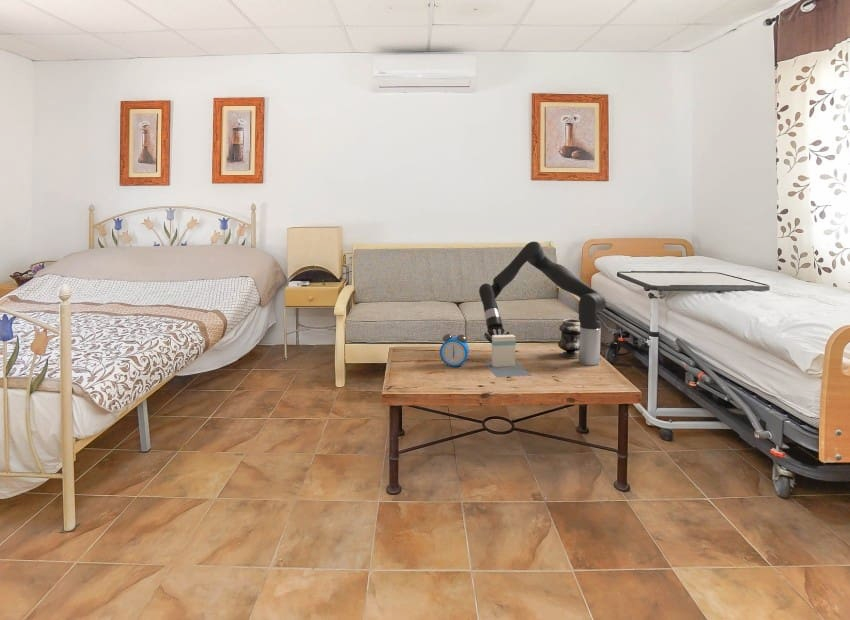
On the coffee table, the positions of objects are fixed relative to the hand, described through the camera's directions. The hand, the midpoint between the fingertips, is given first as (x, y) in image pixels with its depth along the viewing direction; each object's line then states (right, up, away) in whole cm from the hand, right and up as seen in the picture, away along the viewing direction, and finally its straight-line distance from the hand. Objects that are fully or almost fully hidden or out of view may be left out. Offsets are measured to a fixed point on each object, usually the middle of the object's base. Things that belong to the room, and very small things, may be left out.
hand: (500, 350), depth 250 cm
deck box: (+1, -7, -4) cm, 8 cm away
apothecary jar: (+37, -4, +13) cm, 39 cm away
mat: (+2, -8, -10) cm, 13 cm away
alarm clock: (-22, -7, -2) cm, 23 cm away
